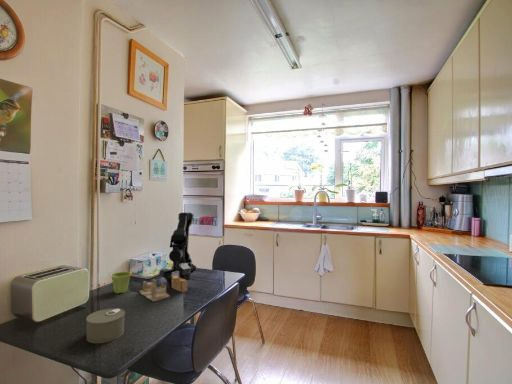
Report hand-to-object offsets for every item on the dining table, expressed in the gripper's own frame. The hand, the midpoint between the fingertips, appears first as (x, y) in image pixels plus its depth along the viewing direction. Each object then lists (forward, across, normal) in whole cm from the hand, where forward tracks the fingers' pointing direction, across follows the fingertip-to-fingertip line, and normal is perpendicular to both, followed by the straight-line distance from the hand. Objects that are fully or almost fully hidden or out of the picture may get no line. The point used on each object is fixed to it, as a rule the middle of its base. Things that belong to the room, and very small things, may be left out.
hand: (178, 286), depth 142 cm
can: (+1, -42, -24) cm, 48 cm away
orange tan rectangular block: (+1, 0, 0) cm, 1 cm away
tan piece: (+1, -13, 0) cm, 13 cm away
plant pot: (+1, -23, +16) cm, 28 cm away
